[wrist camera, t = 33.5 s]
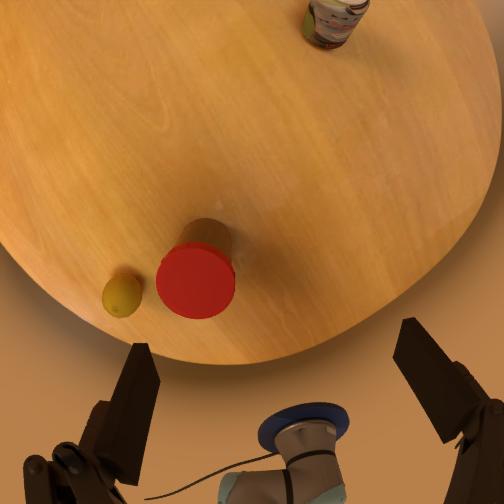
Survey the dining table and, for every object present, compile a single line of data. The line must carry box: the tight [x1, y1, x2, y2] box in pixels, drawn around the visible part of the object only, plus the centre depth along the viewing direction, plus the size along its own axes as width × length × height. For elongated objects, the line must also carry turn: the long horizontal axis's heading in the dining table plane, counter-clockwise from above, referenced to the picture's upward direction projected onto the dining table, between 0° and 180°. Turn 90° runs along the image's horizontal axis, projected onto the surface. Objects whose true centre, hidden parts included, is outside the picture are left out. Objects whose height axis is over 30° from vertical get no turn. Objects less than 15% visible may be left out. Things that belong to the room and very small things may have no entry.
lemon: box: [102, 274, 142, 318], centre depth 37 cm, size 6×6×8 cm
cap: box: [156, 242, 235, 319], centre depth 29 cm, size 8×8×2 cm
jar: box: [174, 218, 232, 264], centre depth 34 cm, size 7×7×12 cm
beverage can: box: [302, 0, 370, 49], centre depth 24 cm, size 6×7×12 cm
